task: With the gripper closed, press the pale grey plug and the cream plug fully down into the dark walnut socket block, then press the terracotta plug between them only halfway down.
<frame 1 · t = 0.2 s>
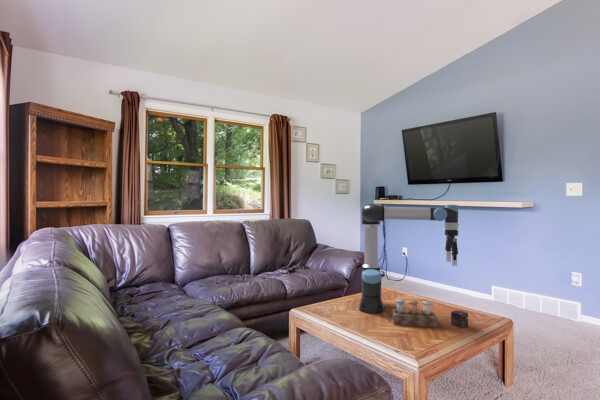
hand: (451, 263, 206), 28 cm above the table, fingers open, 13 cm apart
box: (459, 326, 177), on the table
cream plug: (426, 308, 180), point 8 cm above the table, slide at 0.0 cm
terracotta plug: (413, 308, 181), point 8 cm above the table, slide at 0.0 cm
grey plug: (400, 307, 183), point 8 cm above the table, slide at 0.0 cm
socket block: (413, 322, 181), on the table
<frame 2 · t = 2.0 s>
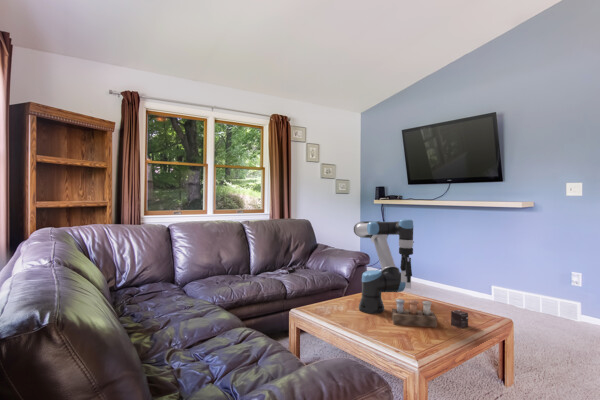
hand: (405, 285, 185), 19 cm above the table, fingers open, 13 cm apart
nothing on the table moved.
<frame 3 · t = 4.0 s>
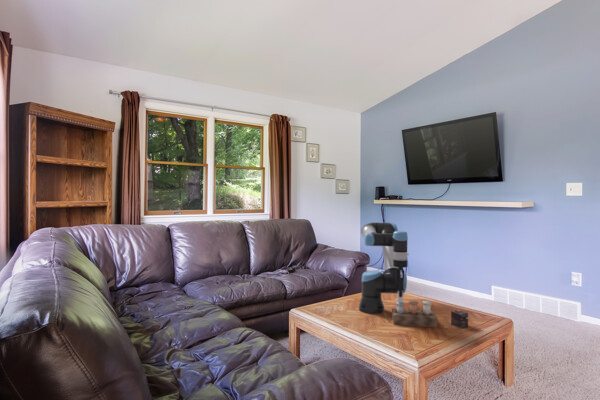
hand: (400, 302, 183), 10 cm above the table, fingers closed
grey plug: (400, 309, 183), point 6 cm above the table, slide at 1.3 cm, touching gripper
everything else where it was.
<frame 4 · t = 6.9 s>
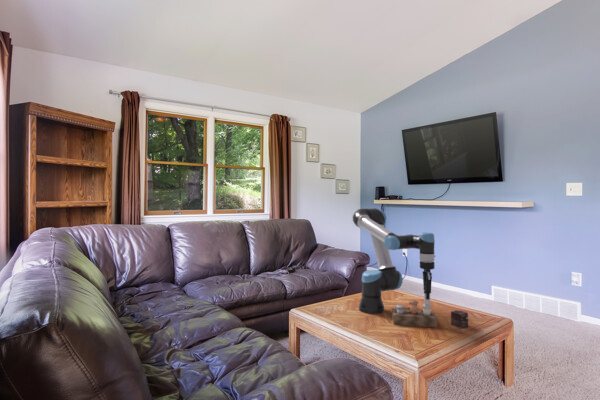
hand: (427, 304, 180), 10 cm above the table, fingers closed
cream plug: (426, 312, 180), point 6 cm above the table, slide at 1.8 cm, touching gripper
grey plug: (400, 312, 183), point 5 cm above the table, slide at 3.1 cm
everything else where it was.
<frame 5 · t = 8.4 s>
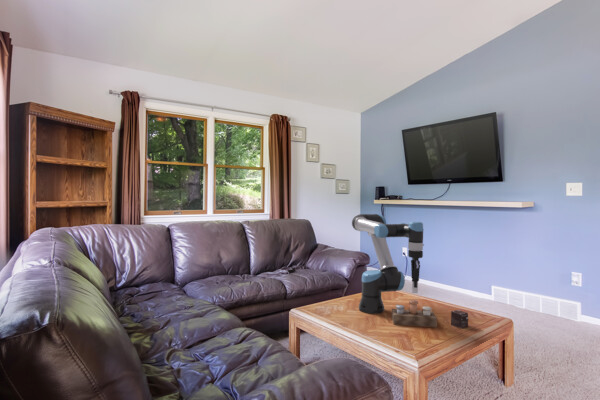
hand: (414, 292, 182), 16 cm above the table, fingers closed
cream plug: (426, 314, 180), point 5 cm above the table, slide at 3.1 cm
everything else where it was.
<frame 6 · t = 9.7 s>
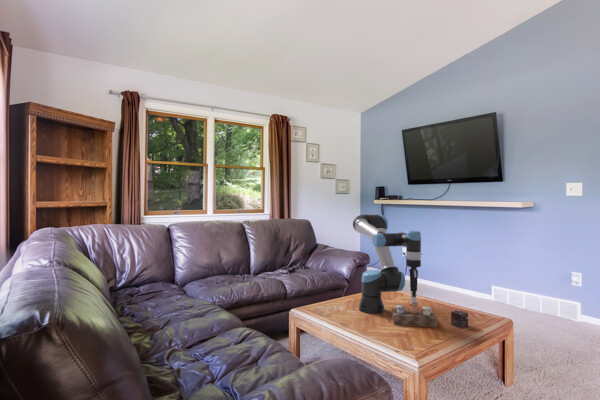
hand: (413, 302, 181), 11 cm above the table, fingers closed
terracotta plug: (413, 309, 181), point 7 cm above the table, slide at 0.9 cm, touching gripper
everything else where it was.
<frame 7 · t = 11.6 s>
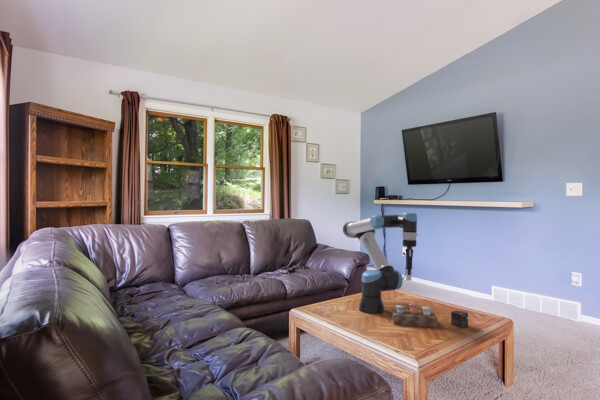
hand: (408, 280, 192), 21 cm above the table, fingers closed
terracotta plug: (413, 310, 181), point 6 cm above the table, slide at 1.5 cm
everything else where it was.
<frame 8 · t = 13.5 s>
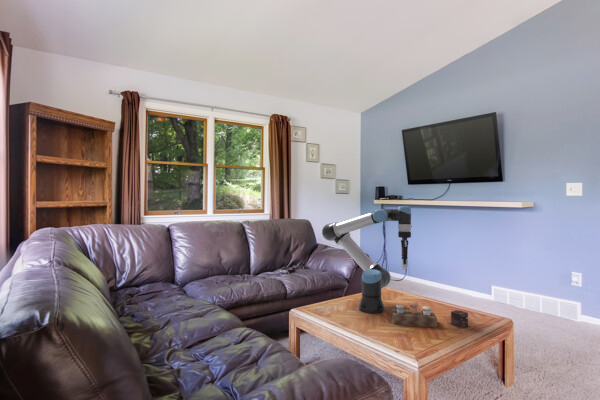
hand: (404, 269, 205), 24 cm above the table, fingers closed
nothing on the table moved.
at the end: grey plug slide at 3.1 cm; cream plug slide at 3.1 cm; terracotta plug slide at 1.5 cm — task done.
